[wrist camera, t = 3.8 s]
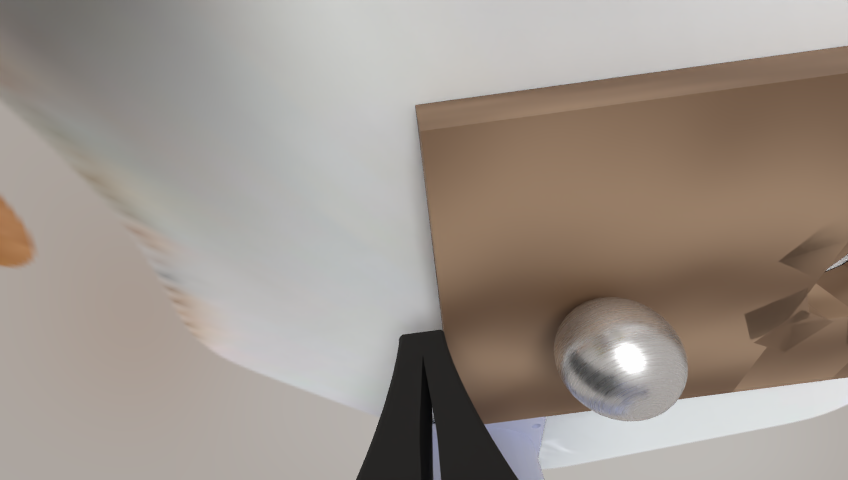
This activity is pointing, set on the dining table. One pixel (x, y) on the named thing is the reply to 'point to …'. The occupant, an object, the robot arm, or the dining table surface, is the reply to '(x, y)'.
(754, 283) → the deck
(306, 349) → the dining table surface
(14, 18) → the dining table surface
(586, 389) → the ball
